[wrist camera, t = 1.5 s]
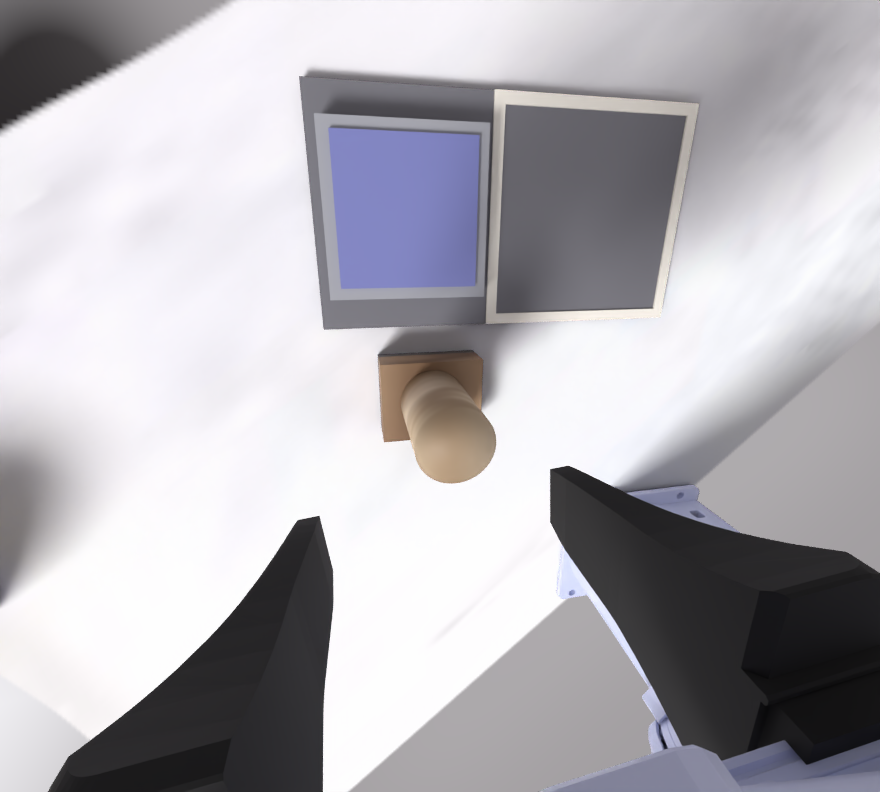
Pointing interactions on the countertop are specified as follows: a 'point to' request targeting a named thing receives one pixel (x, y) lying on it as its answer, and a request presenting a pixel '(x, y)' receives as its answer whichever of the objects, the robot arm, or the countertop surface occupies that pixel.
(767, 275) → the countertop surface
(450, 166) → the stamp mat
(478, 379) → the stamp
